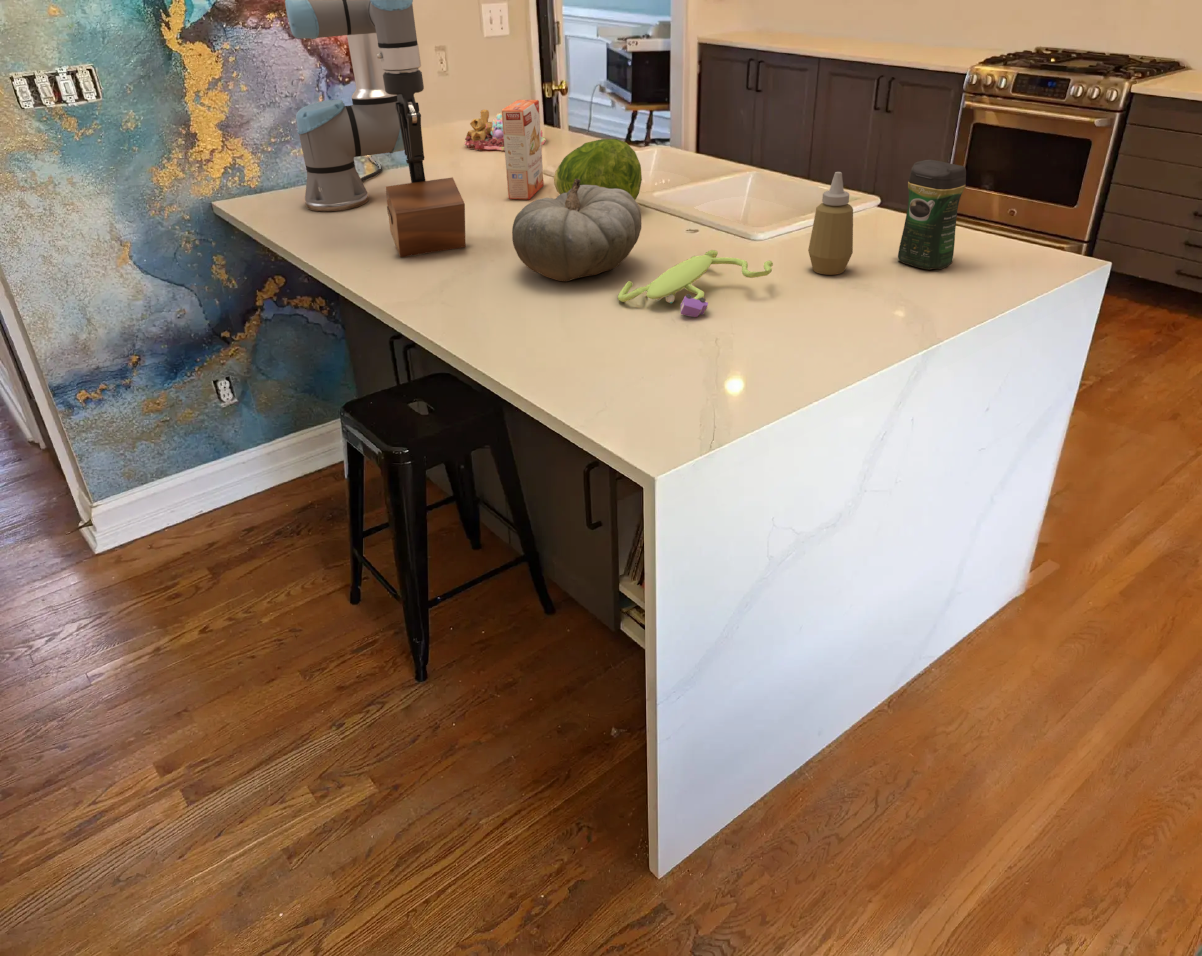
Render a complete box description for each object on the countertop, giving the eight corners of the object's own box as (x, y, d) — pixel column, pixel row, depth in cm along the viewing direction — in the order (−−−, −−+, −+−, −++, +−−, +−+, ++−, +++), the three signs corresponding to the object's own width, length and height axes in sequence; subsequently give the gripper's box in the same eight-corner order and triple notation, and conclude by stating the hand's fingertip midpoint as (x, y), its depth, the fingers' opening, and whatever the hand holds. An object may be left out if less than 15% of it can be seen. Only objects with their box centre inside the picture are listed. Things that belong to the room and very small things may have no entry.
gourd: (674, 252, 171) (657, 163, 162) (585, 310, 159) (560, 217, 149) (587, 240, 188) (566, 158, 178) (500, 291, 176) (472, 207, 166)
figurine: (786, 289, 160) (788, 259, 157) (675, 329, 146) (675, 297, 143) (715, 264, 172) (715, 236, 169) (606, 299, 159) (605, 269, 156)
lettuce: (573, 227, 218) (599, 167, 218) (634, 230, 200) (663, 164, 201) (523, 191, 207) (551, 128, 207) (583, 191, 189) (613, 121, 190)
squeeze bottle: (825, 281, 163) (835, 180, 153) (797, 268, 169) (805, 171, 159) (859, 272, 166) (871, 173, 156) (831, 260, 172) (841, 164, 162)
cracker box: (531, 200, 217) (524, 109, 205) (507, 200, 218) (499, 109, 207) (545, 185, 228) (539, 98, 217) (523, 185, 229) (516, 98, 218)
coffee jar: (959, 265, 167) (977, 163, 157) (931, 274, 163) (948, 170, 153) (917, 252, 174) (932, 154, 164) (889, 261, 170) (903, 161, 160)
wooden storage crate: (389, 230, 189) (384, 186, 180) (455, 220, 193) (453, 177, 184) (399, 257, 184) (395, 213, 175) (466, 247, 188) (465, 203, 179)
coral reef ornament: (455, 152, 265) (451, 119, 260) (477, 135, 285) (474, 104, 280) (536, 151, 261) (534, 118, 256) (553, 134, 281) (551, 103, 276)
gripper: (376, 68, 176) (396, 189, 189) (388, 76, 166) (408, 203, 178) (414, 64, 178) (430, 184, 191) (428, 72, 168) (445, 198, 180)
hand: (420, 193), depth 184 cm, fingers closed
